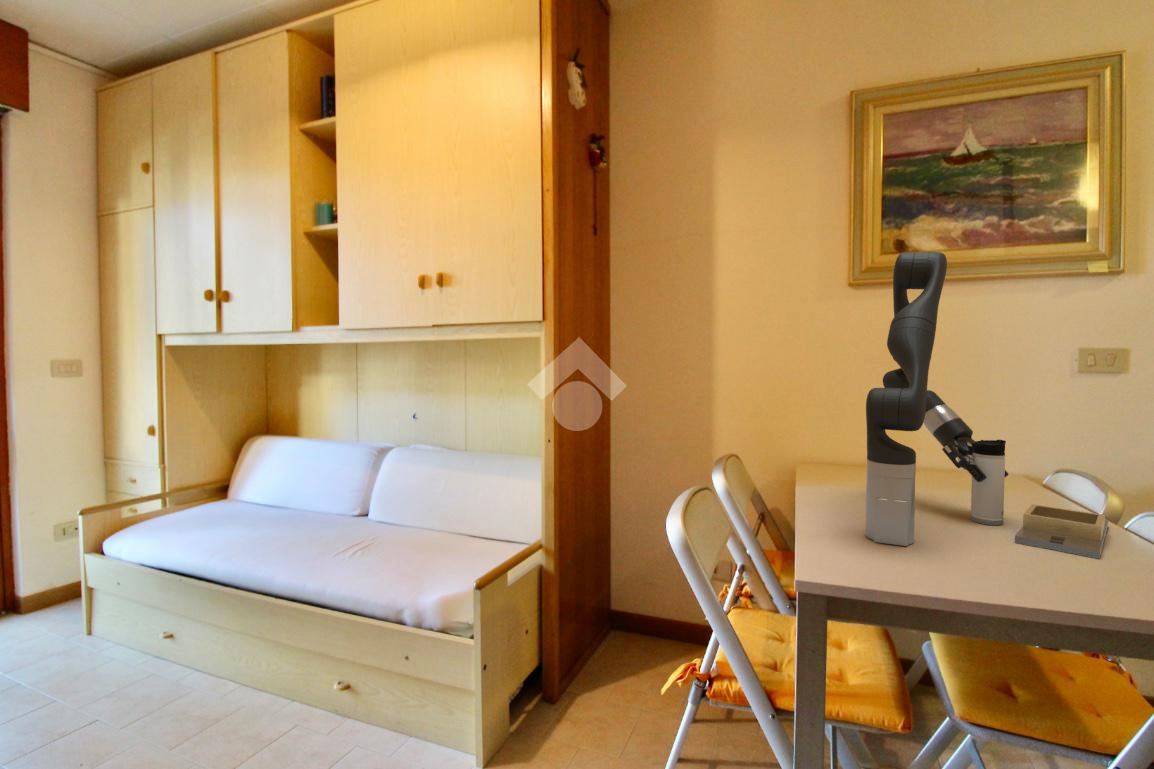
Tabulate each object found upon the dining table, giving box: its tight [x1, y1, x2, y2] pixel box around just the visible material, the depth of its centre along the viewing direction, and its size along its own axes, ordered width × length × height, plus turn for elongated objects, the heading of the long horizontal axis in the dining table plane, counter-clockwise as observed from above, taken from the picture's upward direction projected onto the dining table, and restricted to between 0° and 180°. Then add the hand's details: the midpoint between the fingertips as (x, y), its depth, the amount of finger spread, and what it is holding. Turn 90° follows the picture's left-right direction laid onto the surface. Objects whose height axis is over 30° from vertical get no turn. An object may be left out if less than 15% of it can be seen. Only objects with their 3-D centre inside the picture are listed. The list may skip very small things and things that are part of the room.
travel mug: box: [970, 439, 1007, 526], centre depth 128 cm, size 6×7×20 cm
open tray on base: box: [1014, 503, 1109, 560], centre depth 119 cm, size 30×13×4 cm, turn 133°
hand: (994, 478), depth 127 cm, fingers open, 8 cm apart
